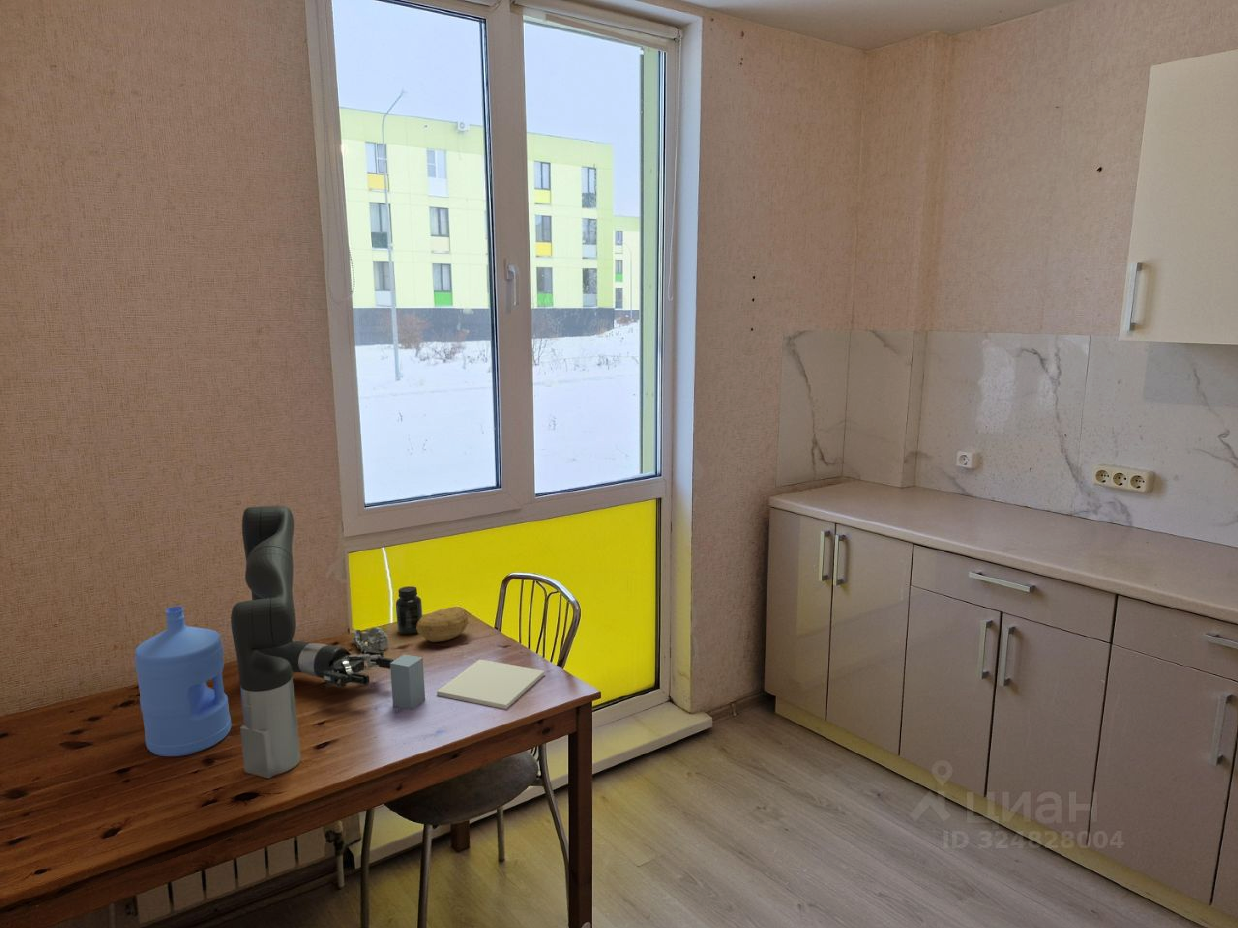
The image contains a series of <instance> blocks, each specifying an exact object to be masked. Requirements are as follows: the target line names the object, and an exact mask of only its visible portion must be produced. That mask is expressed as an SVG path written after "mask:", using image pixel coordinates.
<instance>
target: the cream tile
mask: <svg viewBox="0 0 1238 928" xmlns="http://www.w3.org/2000/svg"><path fill="white" fill-rule="evenodd" d="M544 676H545V670H541V669H538V668H537V669H536V668H532V667H524V666H519V665H514V664H508V663H502V662H496V661H490V660H485V659H478V660H476V661H475V662H474V663H473V664H471V665H470V666H469V667H467V668H466V669H465V670H464V671H462V672H461V673H459V674H458V675H457V676H456V677H454V678H453V679H451V680H450V681H448V682H447V683H446V684H444V685H443V686H442V687H441V688H439V689H438V690H436V695H437V696H440V697H444V698H448V699H453V700H458V701H459V700H460V701H464V702H469V703H473V704H477V705H485V706H489V707H493V708H498V709H503V710H507V709H509V707H510V706H512V704H514V703H515V702H516V701H517V700H518V699H519V698H520V697H521V696H523V695H524V694H525V693H526V692H527V691H528V690H529V689H531V688H532V687H533V685H535V684H536V683H537V682H538V681H539V680H540V679H541V678H543V677H544Z"/></svg>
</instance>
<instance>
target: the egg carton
mask: <svg viewBox="0 0 1238 928" xmlns="http://www.w3.org/2000/svg"><path fill="white" fill-rule="evenodd" d="M351 630H352V632H353V636H352V640H353V644H354V645H356V648H357V649H358V650H359V649H360V651H361V650H362V649H370V650H377V651H380V650H382V651H385V650H386V648H387V649H388V635H387V633H386V632H385V631H384V630H383V627H381V626H377V627H372V628H371V629H368V628H366V629H365V631H363V632H362V631H361V629H360V628H358V629H355V628H351ZM364 640H365V642H364ZM384 649H385V650H384Z"/></svg>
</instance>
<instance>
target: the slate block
mask: <svg viewBox="0 0 1238 928" xmlns="http://www.w3.org/2000/svg"><path fill="white" fill-rule="evenodd" d="M423 659H424V658H423V657H420V656H414V655H409V654H402V655H400V656H399V657H397V658H396V659H395V660H394V659H393V662H391V663H390V670H389V671H390V685H391V697H392V706H394V707H399V708H403V709H408V710H412V709H414V708H416V707H417V706H418V705H419V704H420V703H422V702H424V701H425V700H426V691H425V690H426V689H425V674H424V661H423Z"/></svg>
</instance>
